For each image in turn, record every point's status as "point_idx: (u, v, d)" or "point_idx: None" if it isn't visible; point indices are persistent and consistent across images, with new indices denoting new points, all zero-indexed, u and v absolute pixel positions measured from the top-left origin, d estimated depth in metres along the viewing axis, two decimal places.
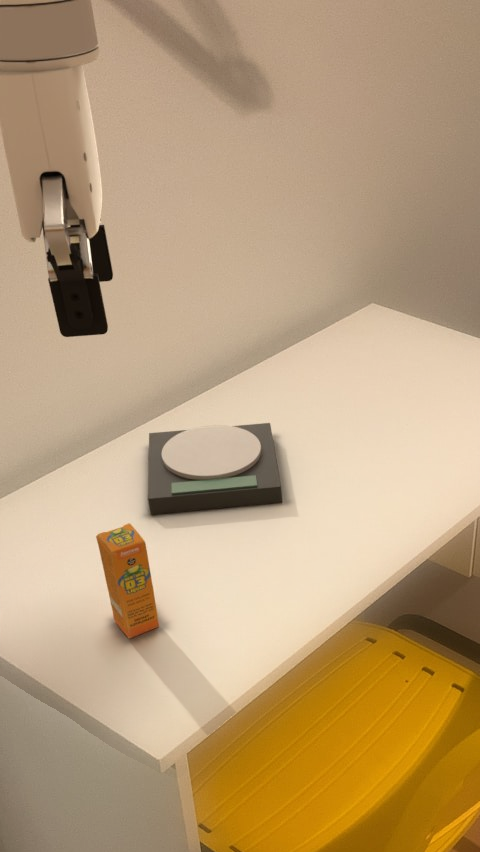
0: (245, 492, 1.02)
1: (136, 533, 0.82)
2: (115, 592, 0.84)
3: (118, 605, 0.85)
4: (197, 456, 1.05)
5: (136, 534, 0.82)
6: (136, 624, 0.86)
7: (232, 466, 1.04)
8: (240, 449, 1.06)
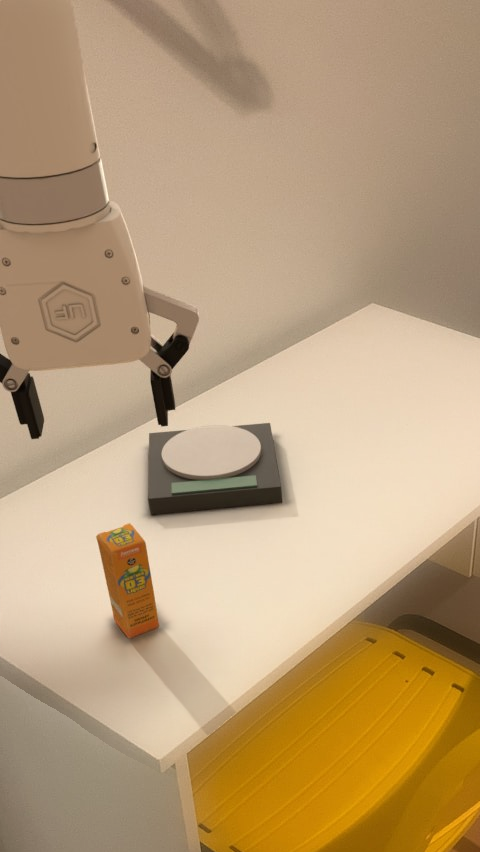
0: (245, 492, 1.02)
1: (136, 533, 0.82)
2: (115, 592, 0.84)
3: (118, 605, 0.85)
4: (197, 456, 1.05)
5: (136, 534, 0.82)
6: (136, 624, 0.86)
7: (232, 466, 1.04)
8: (240, 449, 1.06)
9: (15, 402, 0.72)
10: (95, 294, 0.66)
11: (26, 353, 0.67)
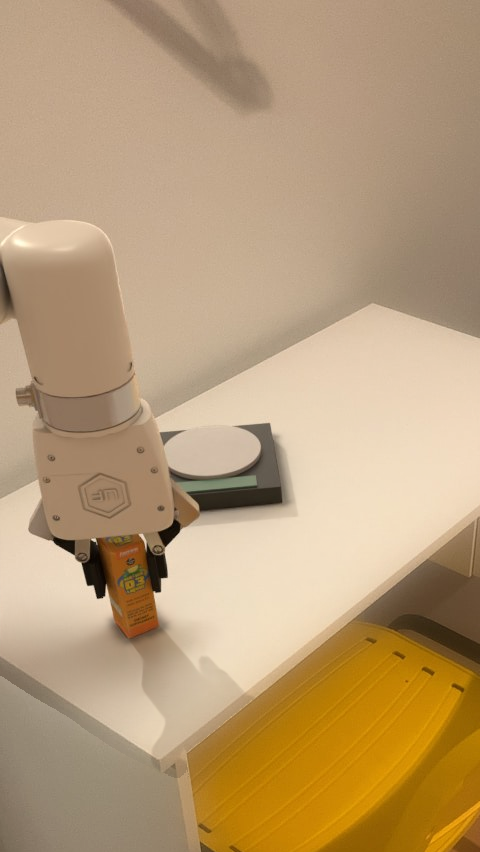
0: (245, 492, 1.02)
1: None
2: (115, 592, 0.84)
3: (118, 605, 0.85)
4: (197, 456, 1.05)
5: None
6: (136, 624, 0.86)
7: (232, 466, 1.04)
8: (240, 449, 1.06)
9: (84, 569, 0.82)
10: (127, 481, 0.75)
11: (65, 527, 0.77)
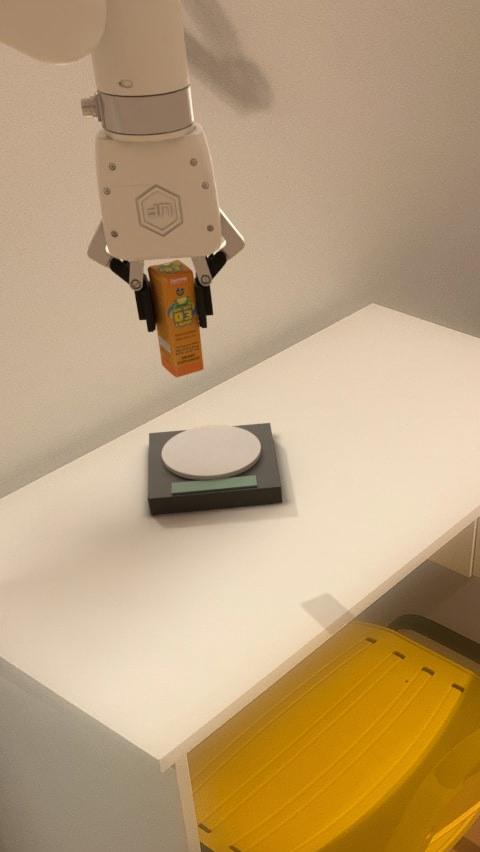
0: (245, 492, 1.02)
1: (184, 265, 0.88)
2: (164, 326, 0.90)
3: (167, 341, 0.91)
4: (197, 456, 1.05)
5: (184, 266, 0.88)
6: (183, 362, 0.93)
7: (232, 466, 1.04)
8: (240, 449, 1.06)
9: (137, 300, 0.89)
10: (180, 196, 0.82)
11: (122, 245, 0.84)
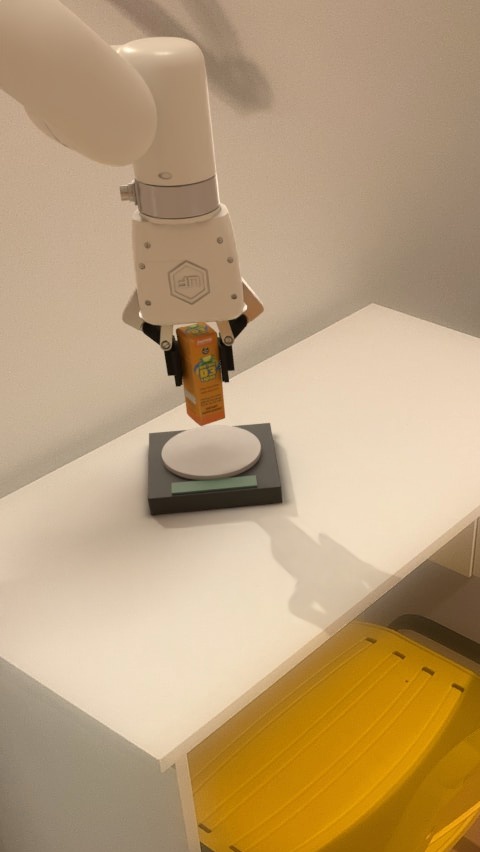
0: (245, 492, 1.02)
1: (209, 327, 0.98)
2: (190, 381, 1.00)
3: (192, 394, 1.01)
4: (197, 456, 1.05)
5: (209, 328, 0.98)
6: (207, 413, 1.02)
7: (232, 466, 1.04)
8: (240, 449, 1.06)
9: (166, 358, 0.98)
10: (208, 269, 0.91)
11: (155, 312, 0.93)
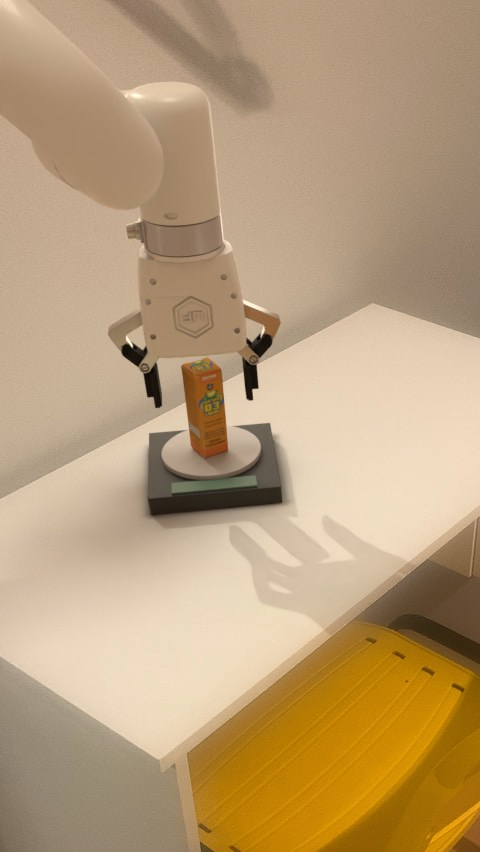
0: (245, 492, 1.02)
1: (214, 363, 1.00)
2: (195, 415, 1.02)
3: (197, 427, 1.03)
4: (197, 456, 1.05)
5: (214, 364, 1.00)
6: (210, 445, 1.04)
7: (232, 466, 1.04)
8: (240, 449, 1.06)
9: (145, 381, 0.99)
10: (212, 305, 0.93)
11: (160, 345, 0.95)
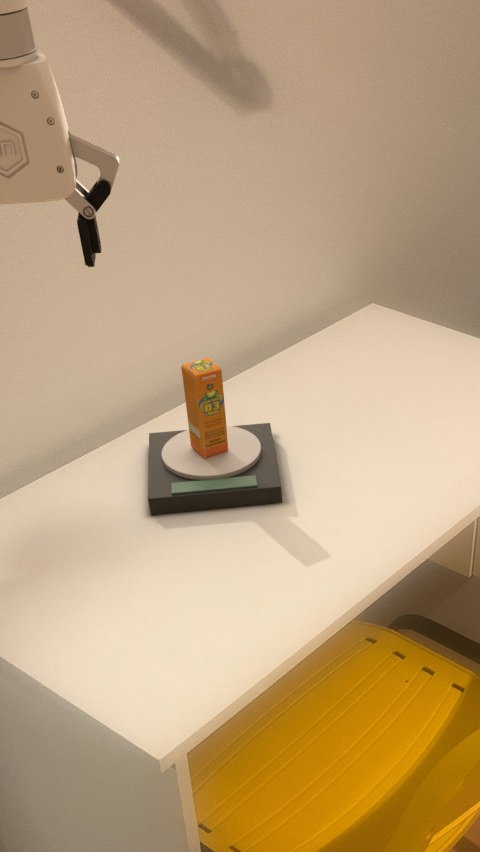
0: (245, 492, 1.02)
1: (214, 363, 1.00)
2: (195, 415, 1.02)
3: (197, 427, 1.03)
4: (197, 456, 1.05)
5: (214, 364, 1.00)
6: (210, 445, 1.04)
7: (232, 466, 1.04)
8: (240, 449, 1.06)
9: None
10: (24, 132, 0.75)
11: None
